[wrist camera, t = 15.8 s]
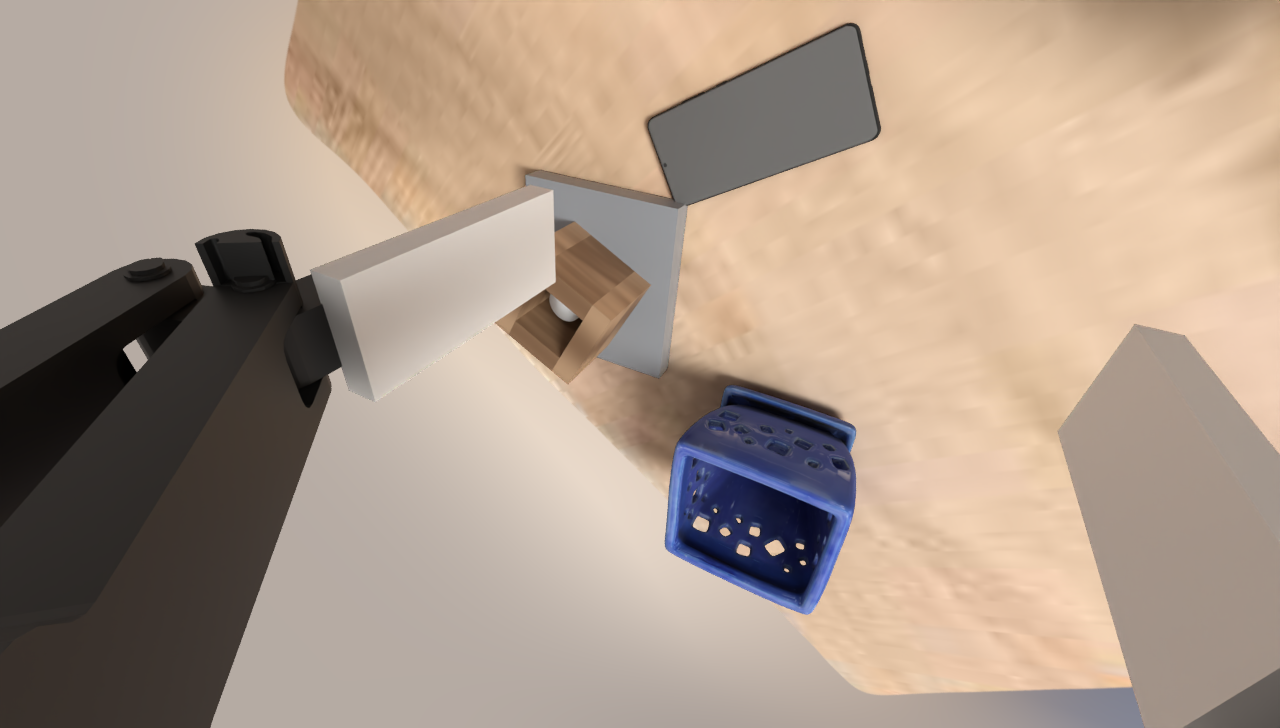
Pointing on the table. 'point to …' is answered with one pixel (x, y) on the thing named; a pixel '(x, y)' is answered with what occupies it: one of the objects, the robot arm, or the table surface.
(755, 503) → the flower pot
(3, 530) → the robot arm
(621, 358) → the post base
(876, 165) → the table surface
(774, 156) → the smartphone
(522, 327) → the block
